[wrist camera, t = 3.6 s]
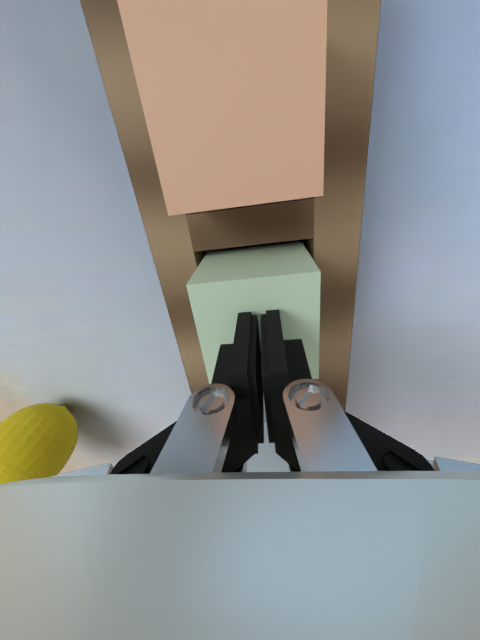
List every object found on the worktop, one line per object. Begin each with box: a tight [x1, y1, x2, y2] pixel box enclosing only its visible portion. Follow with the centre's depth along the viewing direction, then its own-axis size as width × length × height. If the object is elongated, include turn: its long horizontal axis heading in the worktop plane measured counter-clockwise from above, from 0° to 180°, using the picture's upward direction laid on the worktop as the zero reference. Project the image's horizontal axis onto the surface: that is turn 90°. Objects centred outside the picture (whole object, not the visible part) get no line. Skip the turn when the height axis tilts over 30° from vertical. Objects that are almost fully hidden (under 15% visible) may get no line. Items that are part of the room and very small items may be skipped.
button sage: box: [186, 241, 321, 384], centre depth 13 cm, size 5×5×5 cm
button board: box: [80, 0, 381, 411], centre depth 15 cm, size 24×10×3 cm, turn 7°
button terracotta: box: [117, 0, 327, 216], centre depth 10 cm, size 5×5×5 cm
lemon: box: [0, 403, 78, 484], centre depth 20 cm, size 6×6×8 cm
